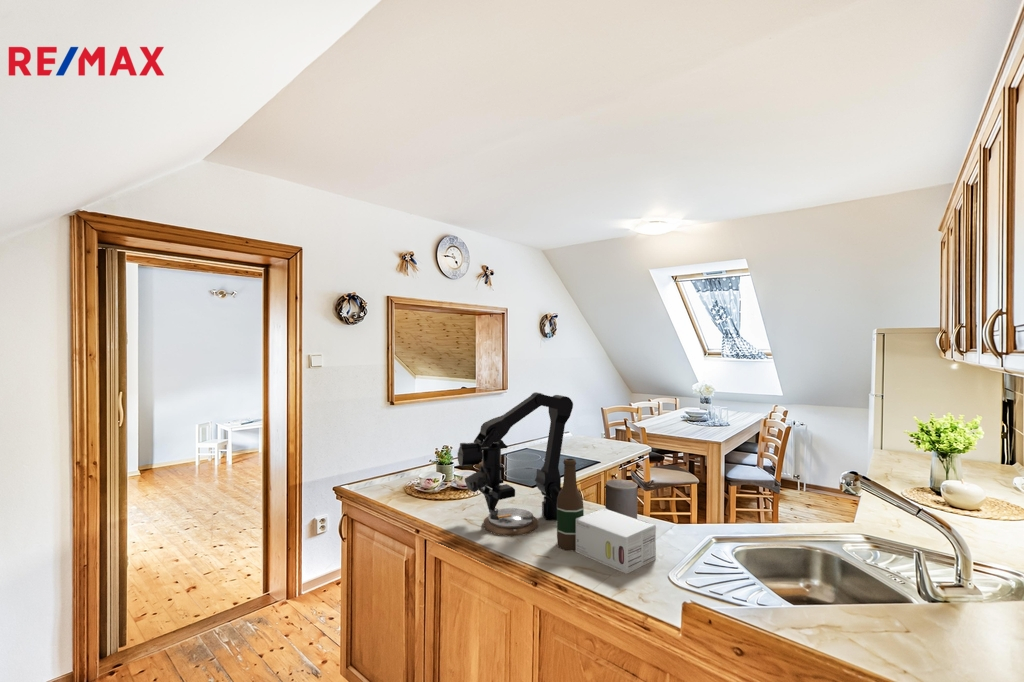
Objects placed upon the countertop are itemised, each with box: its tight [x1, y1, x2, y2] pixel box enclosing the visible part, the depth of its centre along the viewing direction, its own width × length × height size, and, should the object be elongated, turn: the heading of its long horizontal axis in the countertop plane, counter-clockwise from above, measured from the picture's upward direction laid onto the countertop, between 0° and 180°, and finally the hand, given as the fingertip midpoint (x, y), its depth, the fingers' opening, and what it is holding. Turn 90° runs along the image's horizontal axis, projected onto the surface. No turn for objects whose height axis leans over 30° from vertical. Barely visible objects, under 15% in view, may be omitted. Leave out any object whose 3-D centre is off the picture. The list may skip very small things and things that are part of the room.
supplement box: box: [575, 508, 657, 575], centre depth 129 cm, size 17×13×9 cm
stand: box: [483, 515, 539, 537], centre depth 151 cm, size 17×17×1 cm
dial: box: [487, 507, 534, 529], centre depth 151 cm, size 14×14×4 cm
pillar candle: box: [604, 478, 639, 519], centre depth 148 cm, size 10×10×15 cm
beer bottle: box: [556, 457, 585, 552], centre depth 135 cm, size 8×8×24 cm
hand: (491, 512), depth 151 cm, fingers closed
